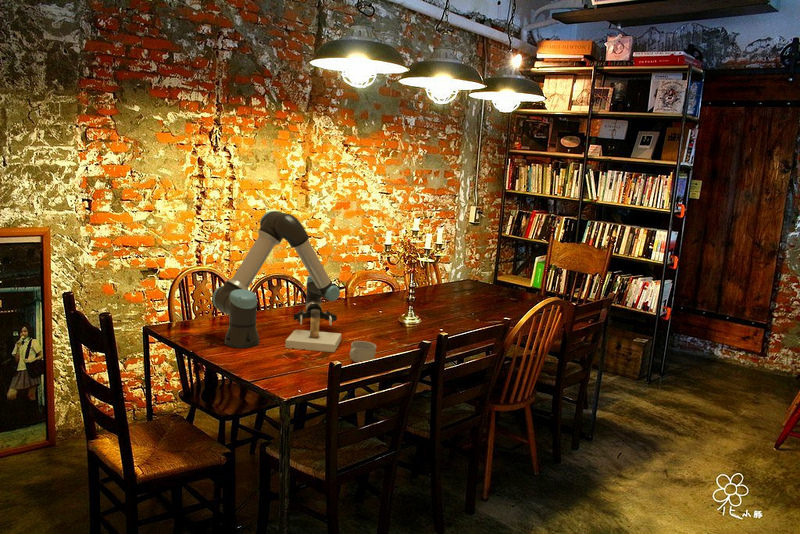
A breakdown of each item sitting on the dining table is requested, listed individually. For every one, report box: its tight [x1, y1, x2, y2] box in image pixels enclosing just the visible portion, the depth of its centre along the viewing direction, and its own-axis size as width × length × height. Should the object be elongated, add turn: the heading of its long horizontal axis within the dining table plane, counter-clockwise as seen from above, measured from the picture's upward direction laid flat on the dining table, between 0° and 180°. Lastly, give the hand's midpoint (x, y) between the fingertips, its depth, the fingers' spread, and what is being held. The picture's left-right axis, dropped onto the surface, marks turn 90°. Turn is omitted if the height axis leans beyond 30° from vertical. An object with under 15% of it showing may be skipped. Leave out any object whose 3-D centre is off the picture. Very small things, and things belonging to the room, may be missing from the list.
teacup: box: [349, 340, 377, 363], centre depth 265 cm, size 14×11×8 cm
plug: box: [309, 309, 321, 339], centre depth 286 cm, size 4×4×16 cm
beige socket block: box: [284, 329, 342, 353], centre depth 287 cm, size 22×18×4 cm
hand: (316, 322), depth 289 cm, fingers open, 13 cm apart
